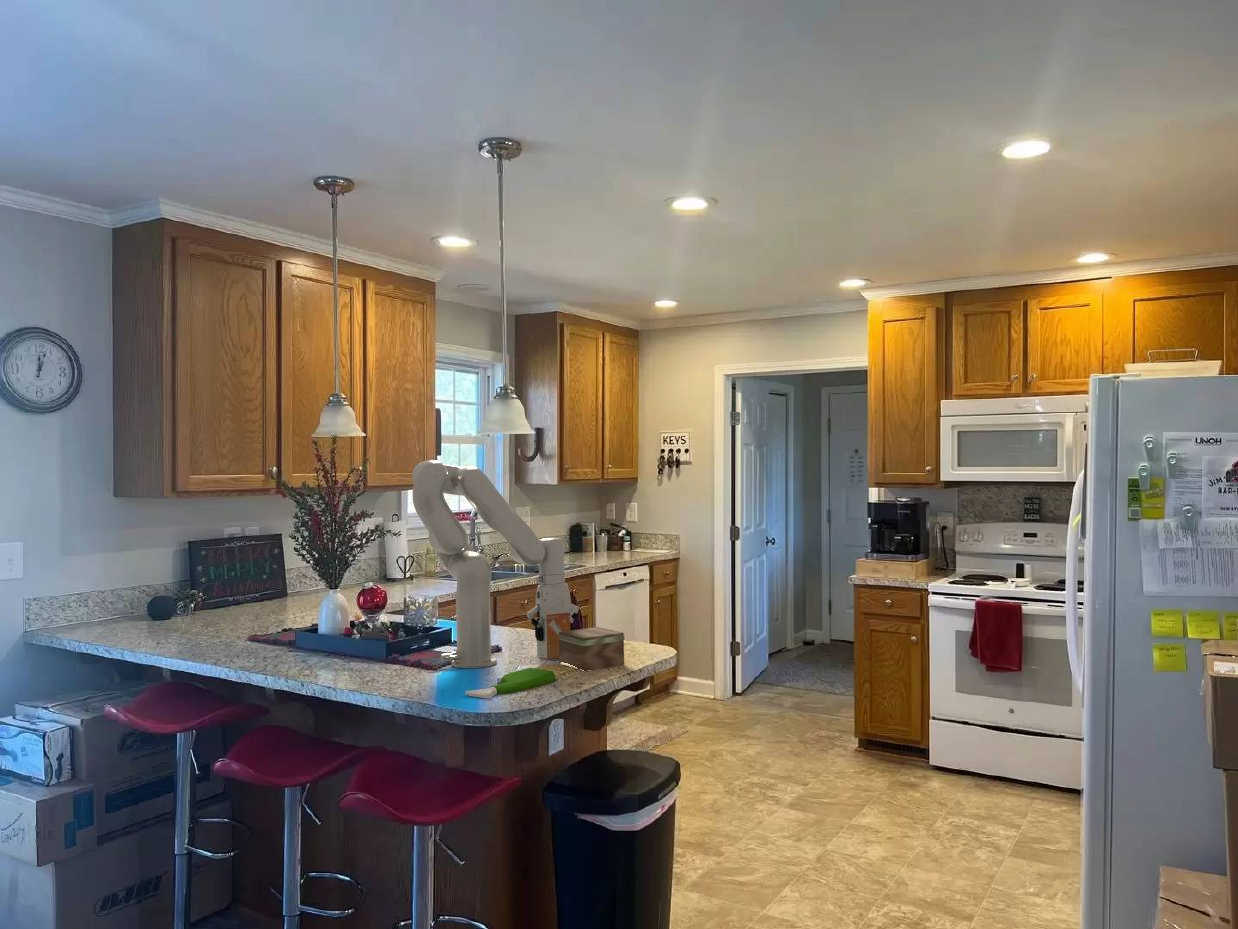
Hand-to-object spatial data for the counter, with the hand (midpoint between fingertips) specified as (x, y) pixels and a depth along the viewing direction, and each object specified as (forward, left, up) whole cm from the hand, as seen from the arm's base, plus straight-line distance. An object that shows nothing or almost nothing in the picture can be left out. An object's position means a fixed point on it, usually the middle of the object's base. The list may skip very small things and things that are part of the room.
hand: (554, 638), depth 265 cm
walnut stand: (+2, -17, -5) cm, 18 cm away
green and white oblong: (-29, -28, -6) cm, 41 cm away
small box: (0, 0, -6) cm, 6 cm away
